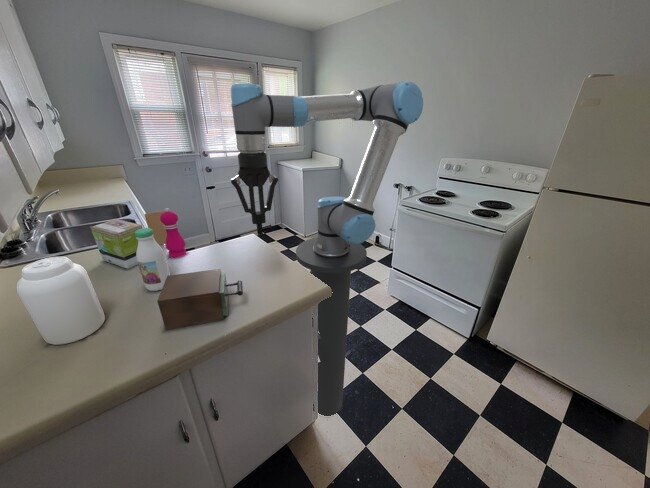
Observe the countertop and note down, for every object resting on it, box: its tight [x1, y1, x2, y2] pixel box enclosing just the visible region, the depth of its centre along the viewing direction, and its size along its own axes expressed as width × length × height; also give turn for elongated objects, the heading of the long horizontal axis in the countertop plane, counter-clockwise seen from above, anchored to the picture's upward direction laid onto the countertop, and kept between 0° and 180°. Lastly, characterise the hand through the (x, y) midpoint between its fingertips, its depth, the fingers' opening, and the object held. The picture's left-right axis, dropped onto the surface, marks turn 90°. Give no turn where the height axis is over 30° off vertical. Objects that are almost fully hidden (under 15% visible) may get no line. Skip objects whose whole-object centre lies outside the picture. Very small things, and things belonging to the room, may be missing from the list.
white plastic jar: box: [16, 255, 106, 346], centre depth 68 cm, size 12×12×20 cm
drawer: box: [219, 271, 244, 317], centre depth 78 cm, size 18×11×8 cm, turn 107°
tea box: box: [89, 218, 143, 270], centre depth 103 cm, size 15×10×15 cm, turn 67°
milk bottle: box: [135, 227, 171, 292], centre depth 87 cm, size 8×8×20 cm
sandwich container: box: [144, 210, 167, 246], centre depth 123 cm, size 9×15×15 cm, turn 36°
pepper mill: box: [160, 207, 187, 259], centre depth 107 cm, size 7×7×20 cm
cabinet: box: [156, 268, 225, 331], centre depth 77 cm, size 15×13×10 cm
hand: (260, 233), depth 81 cm, fingers closed
